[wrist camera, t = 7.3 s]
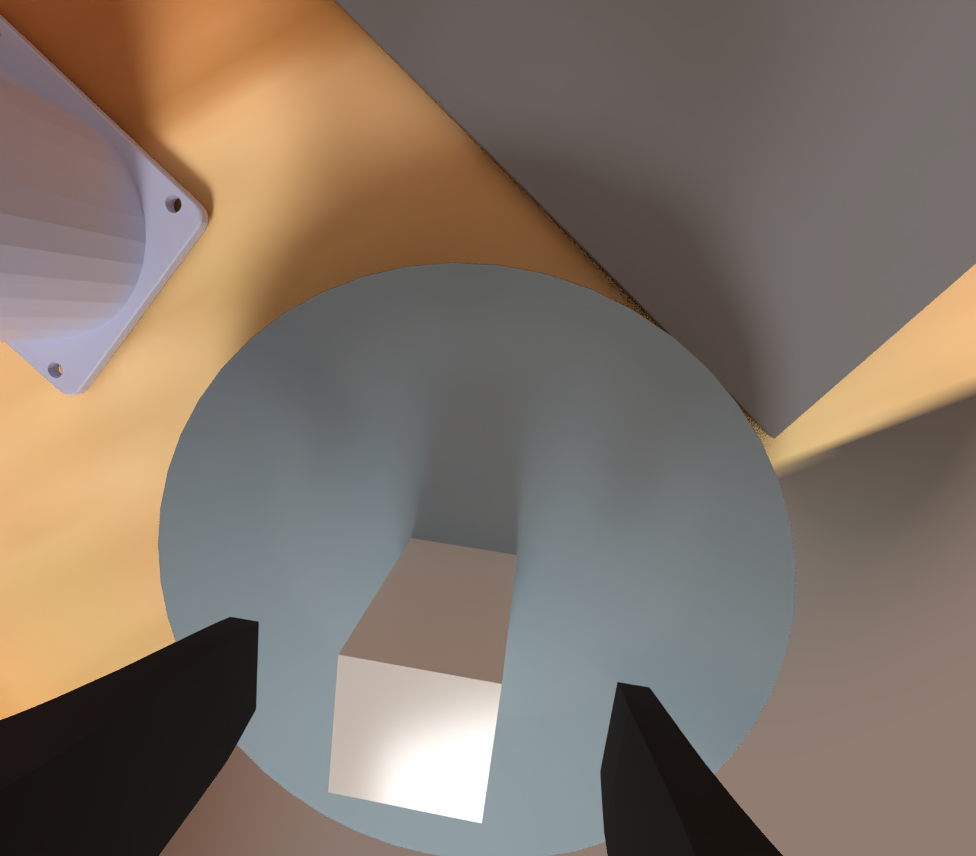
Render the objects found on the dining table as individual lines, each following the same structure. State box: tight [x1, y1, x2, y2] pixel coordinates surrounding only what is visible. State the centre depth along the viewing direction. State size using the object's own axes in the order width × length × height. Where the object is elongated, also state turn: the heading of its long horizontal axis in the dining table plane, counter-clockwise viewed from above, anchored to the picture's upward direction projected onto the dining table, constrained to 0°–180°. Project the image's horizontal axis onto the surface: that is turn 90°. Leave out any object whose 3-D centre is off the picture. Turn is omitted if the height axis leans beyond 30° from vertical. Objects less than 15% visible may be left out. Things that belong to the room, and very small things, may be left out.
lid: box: [158, 263, 796, 856], centre depth 12 cm, size 17×17×6 cm
